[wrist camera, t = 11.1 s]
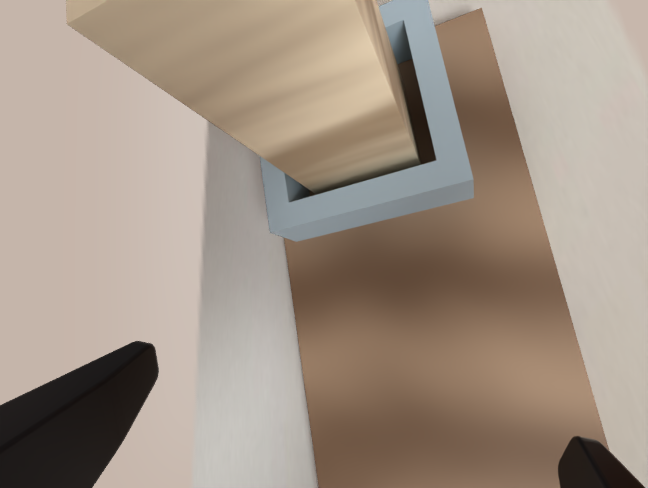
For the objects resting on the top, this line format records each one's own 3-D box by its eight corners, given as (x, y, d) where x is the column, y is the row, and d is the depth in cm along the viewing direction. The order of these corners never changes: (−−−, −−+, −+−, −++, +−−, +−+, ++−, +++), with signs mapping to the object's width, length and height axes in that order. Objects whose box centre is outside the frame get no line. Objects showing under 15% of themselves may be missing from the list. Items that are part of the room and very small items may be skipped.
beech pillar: (423, 171, 16) (307, -117, 5) (324, 199, 18) (67, 24, 7) (401, 77, 17) (264, -340, 6) (309, 111, 19) (62, -173, 7)
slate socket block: (473, 197, 15) (473, 179, 13) (296, 241, 18) (270, 232, 15) (431, 29, 17) (424, -14, 15) (274, 92, 19) (247, 63, 17)
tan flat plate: (644, 598, 13) (658, 622, 12) (341, 578, 16) (333, 594, 15) (481, 23, 17) (481, 7, 16) (273, 103, 21) (264, 94, 20)
